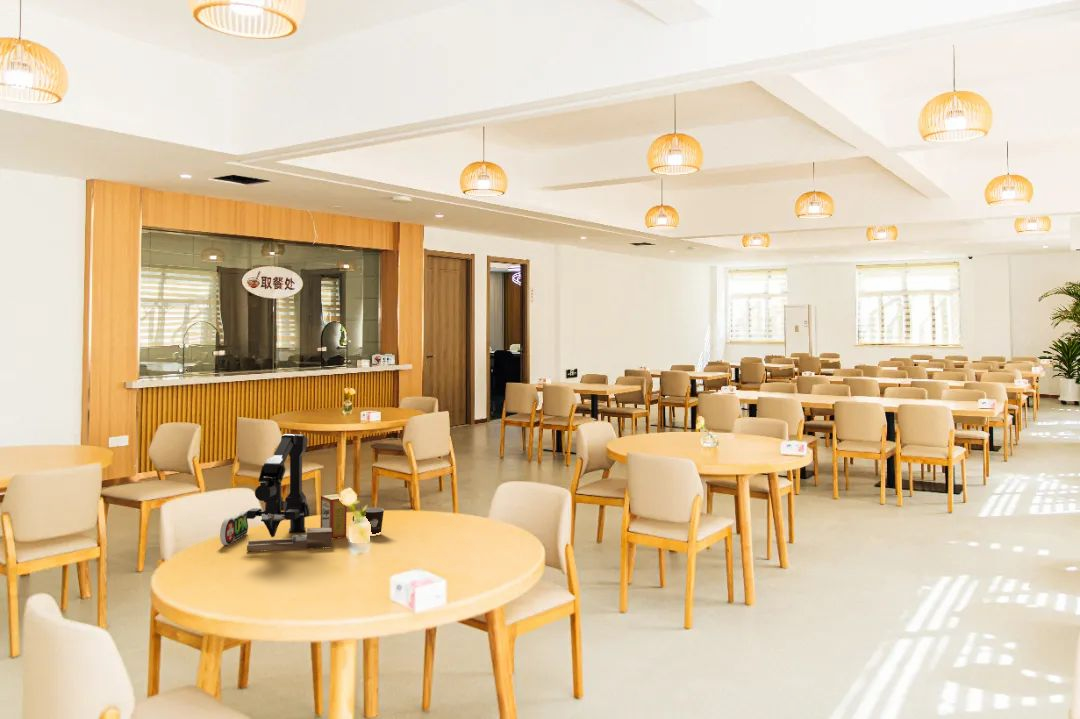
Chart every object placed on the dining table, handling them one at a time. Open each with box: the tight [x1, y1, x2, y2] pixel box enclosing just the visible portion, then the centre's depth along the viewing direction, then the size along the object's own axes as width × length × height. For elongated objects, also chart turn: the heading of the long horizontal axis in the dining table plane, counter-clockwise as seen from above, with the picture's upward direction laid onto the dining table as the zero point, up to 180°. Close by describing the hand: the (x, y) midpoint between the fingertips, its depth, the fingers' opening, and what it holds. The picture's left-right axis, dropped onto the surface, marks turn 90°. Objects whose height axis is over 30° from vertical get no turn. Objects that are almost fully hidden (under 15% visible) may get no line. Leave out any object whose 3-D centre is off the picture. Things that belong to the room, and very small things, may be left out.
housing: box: [246, 527, 333, 552], centre depth 293 cm, size 7×30×6 cm, turn 106°
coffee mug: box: [352, 507, 385, 534], centre depth 315 cm, size 12×9×10 cm
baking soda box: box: [320, 493, 348, 539], centre depth 312 cm, size 10×6×16 cm
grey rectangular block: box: [292, 534, 307, 542], centre depth 295 cm, size 4×9×4 cm, turn 106°
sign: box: [219, 511, 249, 546], centre depth 302 cm, size 22×2×10 cm, turn 179°
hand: (272, 536), depth 292 cm, fingers closed
